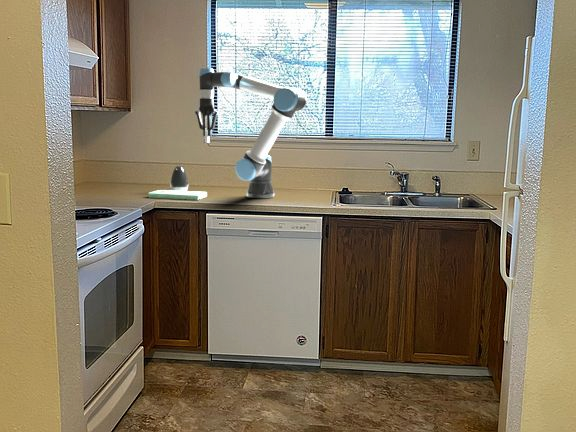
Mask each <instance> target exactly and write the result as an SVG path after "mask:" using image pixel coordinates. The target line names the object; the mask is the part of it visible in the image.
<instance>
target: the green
mask: <svg viewBox="0 0 576 432" xmlns="http://www.w3.org/2000/svg"><path fill="white" fill-rule="evenodd" d="M164 190H165V189H158V190H154V191H151V192H148V193H147V196H148V199H149V198H150V199H166V200H167V199H169V200H185V199H186V200H188V201H198V200H199V199H200V200H202V199H203V198H204V199H205V198H206V197H208V192H207V191H194V190H192V191H191V190H190V191H189V190H187V191H175V190H172V189H171V190H170V189H169V190H168V189H166V190H167V191H168V192H166V193H165V192H163V191H164Z"/></svg>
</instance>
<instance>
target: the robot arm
mask: <svg viewBox="0 0 576 432" xmlns="http://www.w3.org/2000/svg"><path fill="white" fill-rule="evenodd" d="M217 87H219V88H233V89H237V90H239V91H243V92H247V93H250V94H254V95H257V96H260V97H263V98H267V99H269V100H273V104H272V106H271V110H272V111H271V114H269V116H268V117H267V118H268V119H267V120H266V122H265V124H264V126H263V128H262V130H261V131H260V132H259V135H258V137H256V140H255V141H254V143H253V146H252V147H251V149H250V150H246V152H245V154H244V156H243V157H242V158H240V159H239V160H238V161H237V162H236V163H235V173H236V176H237V177H238V178H239V180H242V181H245V182H246V181H248V182H249V185H248V188H247V191H246V197H247V198H251V199H270V198H274V197H275V191H274V188H273V183H272V163H273V162H272V161H273V160H272V156H270V155H268V154H269V152H270V150H271V149H272V147H273V145H274V144H275V142H276V140H277V138H278V136H279V134H280V132H281V131H282V129H283V127H284V126H285V124H286V123H287V121H288V120H290V119H292V118H293V117H294V114H295V113H296V112H298V111H301V110H303V109H304V107H306V104H307V102H308V101H307V100H308V98H307V97H308V96H307V94H306V92H305V91H304V90H302V89H301V88H298V87H297V88H296V87H291V86H285V87H283V86H279V85H276V84H272V83H268V82H266V81H262V80H259V79H254V78H252V77H248V76H244V75H242V74H240V73H234V72H231V71H221V72H219V71H217V72H216V71H214V69H213V68H210V67H205V68H203V67H202V68H200V69H199V108H198V109H197V110H195V111H194V113H195V115H196V118H197V122H198V127H199V129H200V130H202V133H203V134H202V135H203V137H204V143H210V137H212V130H215V127H216V122H217V117H218V115H219V111H217V110H216V108H215V102H214V101H215V99H214V97H215V88H217ZM201 114H202V115H201ZM212 115H213V116H212Z"/></svg>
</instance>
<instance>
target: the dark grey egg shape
mask: <svg viewBox="0 0 576 432" xmlns="http://www.w3.org/2000/svg"><path fill="white" fill-rule="evenodd" d="M189 185H190V184H189V180H188V175H187V172H186V170H185V168H184V167H183V166H182V165H177V166H175V167H174V169H173V172H172V174H171V177H170V184H169V186H170V189H171V190H175V191H188V188H189Z"/></svg>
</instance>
